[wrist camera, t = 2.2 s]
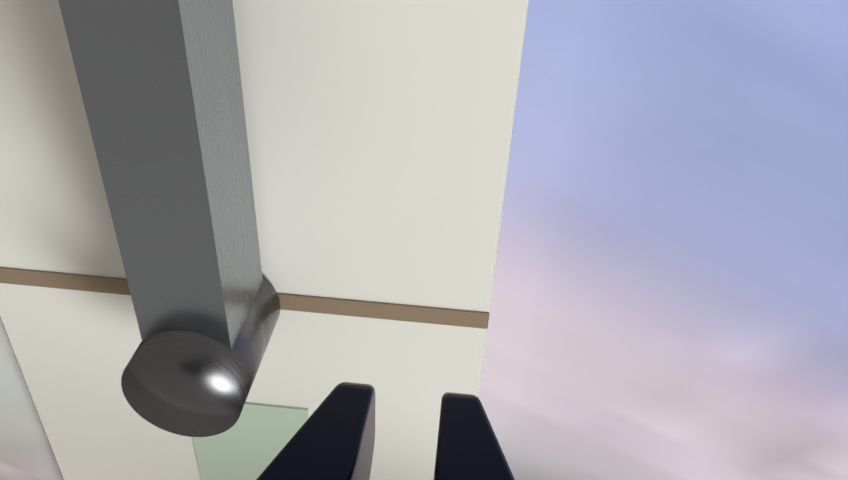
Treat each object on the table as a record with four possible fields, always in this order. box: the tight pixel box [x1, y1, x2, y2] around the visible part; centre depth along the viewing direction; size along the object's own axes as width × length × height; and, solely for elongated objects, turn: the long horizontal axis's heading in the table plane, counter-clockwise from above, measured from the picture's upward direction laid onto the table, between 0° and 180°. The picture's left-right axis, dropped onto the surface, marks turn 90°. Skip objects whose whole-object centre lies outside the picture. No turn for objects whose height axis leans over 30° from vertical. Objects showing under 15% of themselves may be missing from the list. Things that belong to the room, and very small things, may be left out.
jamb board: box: [0, 0, 528, 480], centre depth 23 cm, size 16×26×1 cm, turn 177°
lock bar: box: [58, 0, 280, 437], centre depth 18 cm, size 13×3×4 cm, turn 177°
